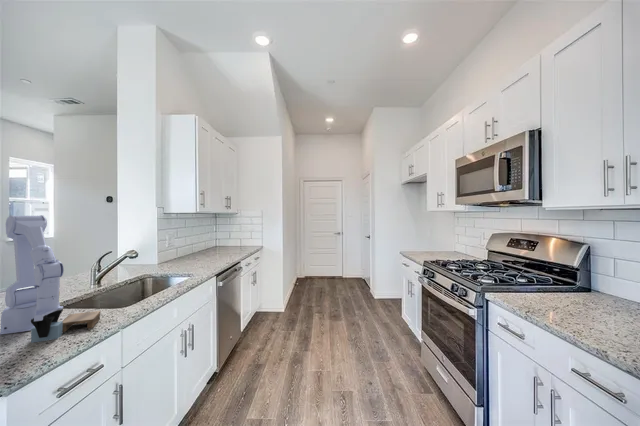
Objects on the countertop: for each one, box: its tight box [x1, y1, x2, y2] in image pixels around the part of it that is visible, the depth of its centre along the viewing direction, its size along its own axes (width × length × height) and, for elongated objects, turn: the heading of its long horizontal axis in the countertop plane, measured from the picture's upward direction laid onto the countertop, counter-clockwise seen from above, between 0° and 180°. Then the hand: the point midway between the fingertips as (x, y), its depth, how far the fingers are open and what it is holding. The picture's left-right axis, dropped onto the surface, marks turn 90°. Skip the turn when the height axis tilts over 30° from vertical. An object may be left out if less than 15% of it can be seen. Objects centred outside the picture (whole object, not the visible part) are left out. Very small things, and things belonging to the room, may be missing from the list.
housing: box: [30, 320, 63, 344], centre depth 96 cm, size 7×4×6 cm, turn 117°
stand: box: [62, 310, 101, 333], centre depth 107 cm, size 10×10×4 cm
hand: (47, 333), depth 96 cm, fingers open, 5 cm apart
